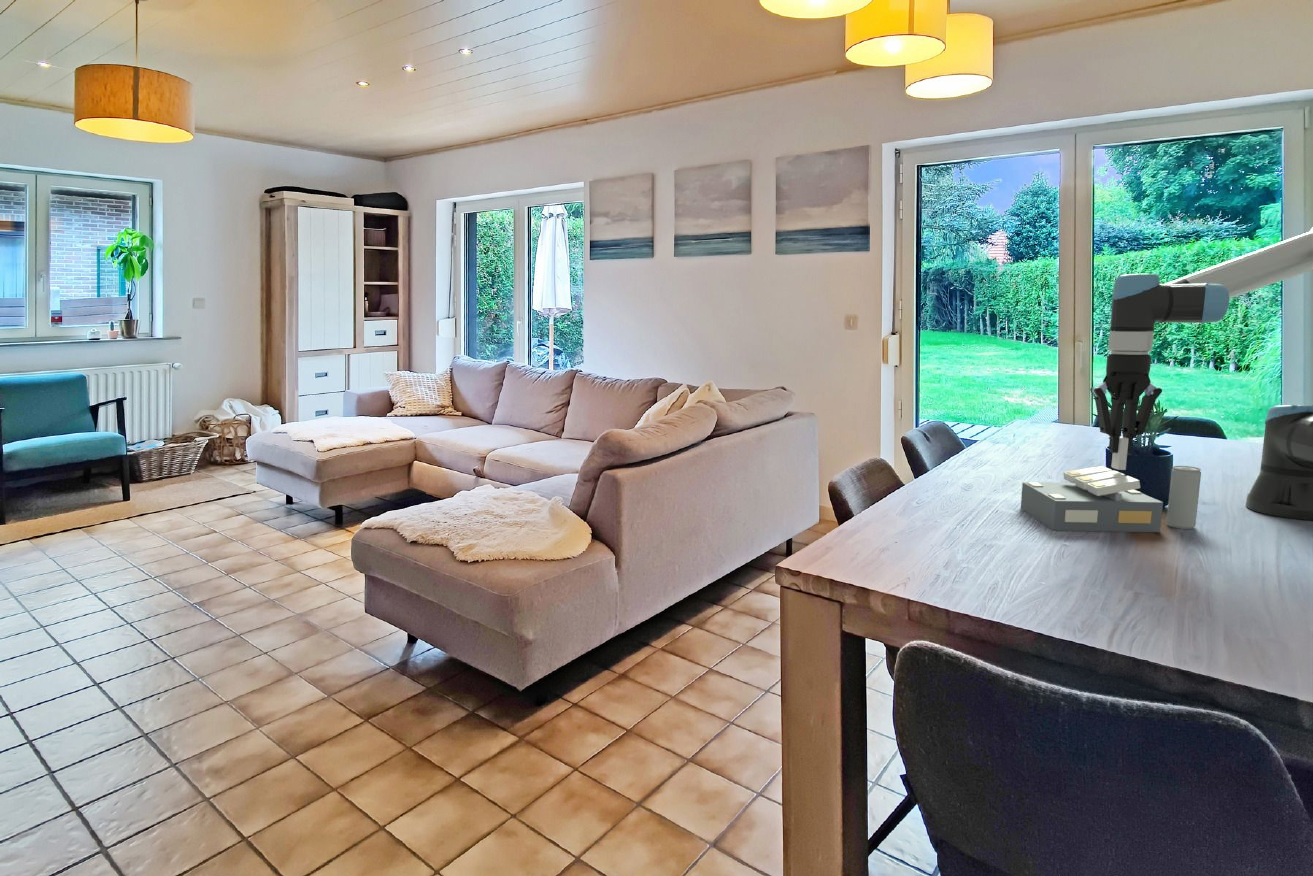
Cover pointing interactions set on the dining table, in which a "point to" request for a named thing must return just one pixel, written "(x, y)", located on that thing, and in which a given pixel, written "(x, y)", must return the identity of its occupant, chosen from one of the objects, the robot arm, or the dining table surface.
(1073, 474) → the rocker
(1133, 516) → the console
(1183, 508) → the beverage can
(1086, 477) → the rocker
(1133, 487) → the plate
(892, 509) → the dining table surface
